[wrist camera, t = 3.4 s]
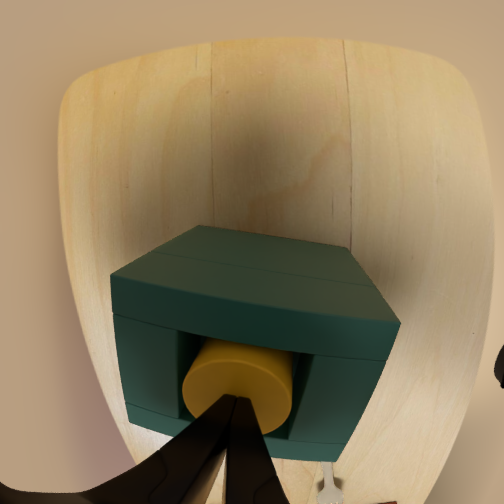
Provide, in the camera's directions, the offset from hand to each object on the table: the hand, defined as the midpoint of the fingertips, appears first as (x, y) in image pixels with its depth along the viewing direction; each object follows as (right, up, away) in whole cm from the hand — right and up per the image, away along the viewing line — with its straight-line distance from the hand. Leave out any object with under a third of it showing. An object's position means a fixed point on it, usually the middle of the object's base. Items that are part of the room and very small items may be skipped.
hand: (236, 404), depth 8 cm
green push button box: (+1, +2, +10) cm, 10 cm away
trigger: (0, +1, +3) cm, 3 cm away
